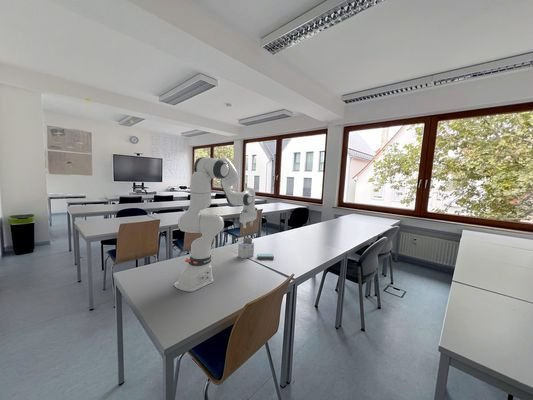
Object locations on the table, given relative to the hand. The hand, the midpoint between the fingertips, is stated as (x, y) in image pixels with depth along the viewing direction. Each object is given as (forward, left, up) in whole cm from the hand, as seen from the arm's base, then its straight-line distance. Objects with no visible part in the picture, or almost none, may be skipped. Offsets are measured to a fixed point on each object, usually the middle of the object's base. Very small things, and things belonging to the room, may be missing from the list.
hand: (248, 227), depth 169 cm
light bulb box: (0, +1, -24) cm, 24 cm away
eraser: (+4, -14, -24) cm, 28 cm away
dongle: (0, +1, -13) cm, 13 cm away
